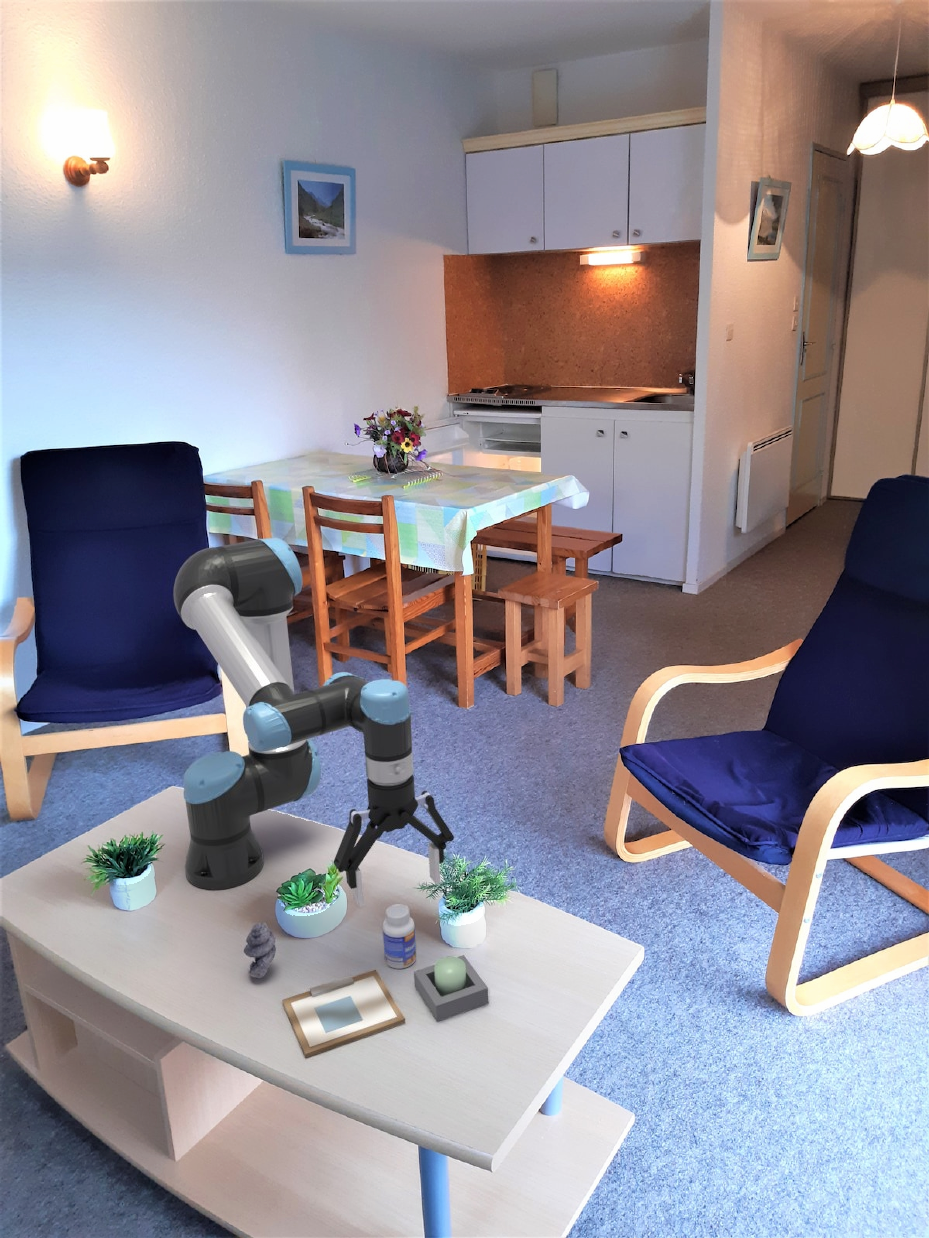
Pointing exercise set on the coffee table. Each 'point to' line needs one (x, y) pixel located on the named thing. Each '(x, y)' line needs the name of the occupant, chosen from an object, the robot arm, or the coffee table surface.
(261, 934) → the seashell
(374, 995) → the clipboard
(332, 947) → the coffee table surface
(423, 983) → the button housing
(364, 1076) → the coffee table surface
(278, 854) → the coffee table surface
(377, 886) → the coffee table surface
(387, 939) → the pill bottle
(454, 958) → the button
